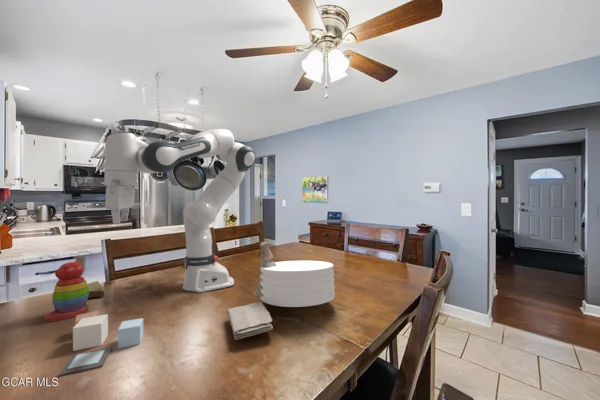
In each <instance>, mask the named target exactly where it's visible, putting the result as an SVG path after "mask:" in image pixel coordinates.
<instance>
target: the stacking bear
mask: <svg viewBox="0 0 600 400" xmlns="http://www.w3.org/2000/svg"><path fill="white" fill-rule="evenodd" d="M83 273H84V266H83V264H81V262H79V261H78V260H74V261H71V262H70V261H69V262H65V263H63V264H61V265H60V267H59V268H58V269H57V270H56V271H55V272H54V275H55V277H56V278H57V279H58V281H57V282H56V283H55V286H54V289H53V293H52V297H51V301H52V304H53V308H54V310H53V311H50V312H49V313H46V314H45V315H44V316H43V320H44V322H55V321H62V320H68V319H72V318H76V315H80V314H85V313H88V311H89V306H88V304H87V303H88V299H89V297H88V296H89V288H88V285H87V284H88V282H87V280H86V279H85V277H83V276H82V275H83Z"/></svg>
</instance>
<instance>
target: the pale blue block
mask: <svg viewBox="0 0 600 400" xmlns="http://www.w3.org/2000/svg"><path fill="white" fill-rule="evenodd" d="M143 337H144V318H143V317H142V318H141V317H140V318H137V319H129V320H123V321H122V322H121V323H120V325H119V327H118V329H117V346H118V347H117V349H121V348H128V347H131V346H137V345H141V344H142V340H143Z"/></svg>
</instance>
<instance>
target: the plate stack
mask: <svg viewBox="0 0 600 400" xmlns="http://www.w3.org/2000/svg"><path fill="white" fill-rule="evenodd" d="M274 262H275V261H274ZM275 264H276V266H273V267H268V268H267V267H261V266H260V267H259V269H260V272H262V273H263V274H260V273H259V274H260V276H261V279H263V281H260V280H259V282H260V283H261V286H262V287H263V289H261V293H262V294H263V296H260V300H261V302H262V303H265V304H267V305H271V306H277V307H285V308H286V307H287V308H301V307H312V306H319V305H322V304H325V303H328V302H330V301H333V299H335V296H336V295H335V278H334V276H335V273H334V272H335V271H334V269H335V268H334V264H333V263H332V262H328V261H321V260H286V261H285V260H284V261H276V262H275ZM260 276H259V277H260Z"/></svg>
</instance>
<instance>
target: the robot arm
mask: <svg viewBox="0 0 600 400" xmlns="http://www.w3.org/2000/svg"><path fill="white" fill-rule="evenodd" d="M104 145H105V146H104V160H105V162H106V164H105V168H104V181H103V182H104V186H106V189H105V201H104V204H105V205H104V207H105V209H106V210H110V212H111V217H112V224H114V225H115V224H121V222H127V221H128V220H129V219H128V218H129V217H128V216H129V213H130V209H132V208H134V205H135V196H136V188H137V187H138V172H140V173H145V174H156V173H167V172H170V171H171V170H173V169H174V168H175V167H177V165H179V163H181V162H183V161H186V160H189V159H192V158H195V157H197V158H199V159H207V158H208V159H209V158H211V157H216V158H218V160H220V161H222V162H224V163H226V164H225V167H224V168H223V169H222V170H221V171H220V172H218V174H217V175H216V176H215V177H214V178H213V180H211V181H210V183H208V185H207V186H206V187H205V189H204V191H203V192H202V194H201V195H200V196H199V198H197V200H195V201H190V202H188V203H187V204H186V205H185V207H183V212H182V214H183V225H184V232H185V233H184V234H185V257H184V268H185V274H184V281H183V284H182V289H183V290H185V291H188V292H190V291H191V292H194V293H195V292H196V293H203V292H204V293H205V292H208V291H212V290H218V289H219V290H220V289H224V288H229V287H232V286H234V284H235V281H234V278H233V277H232V276H230V275H229V271H228V268H227V267H226V266H224V265H222V264H221V263H219V262H218V261H219V257H218V256H217V255H215V254H213V240H212V234H211V230H210V224H212V223H214V222H215V220H216V218H217V215H218V214H219V212H221V209H222V208H223V207H224V206H223V205H224V204H225V203H226V201H228V199H229V198H231V196H232V194H233V193H234V192H235V191H237V189H238V187H239V186H240V185H241V183H242V182H243V180H244V178H245V176H246V172H247V171H248V170H250V168H252V167H253V165H254V163H255V162H256V151H255V150H254V149H253V148H252V147H250V146H248V145H245V144H243V143H240V142H238V141H237V142H236V141H235V138H234V135H233V133H232V132H231V131H230V130H229V129H227V128H213V129H207V130H203V131H200V132H198V133H195V134H193V135H191V138H190V140H185V141H180V142H177V143H170V142H164V141H155V142H152V143H149V144H148V143H146V142H144V141H142V140H141V139H140V138H139V137H137V136H136V135H135V133H132V132H128V131H120V132H119V131H117V132H113V133H110V134H109V135H107V137H106V139H105V144H104Z"/></svg>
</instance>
